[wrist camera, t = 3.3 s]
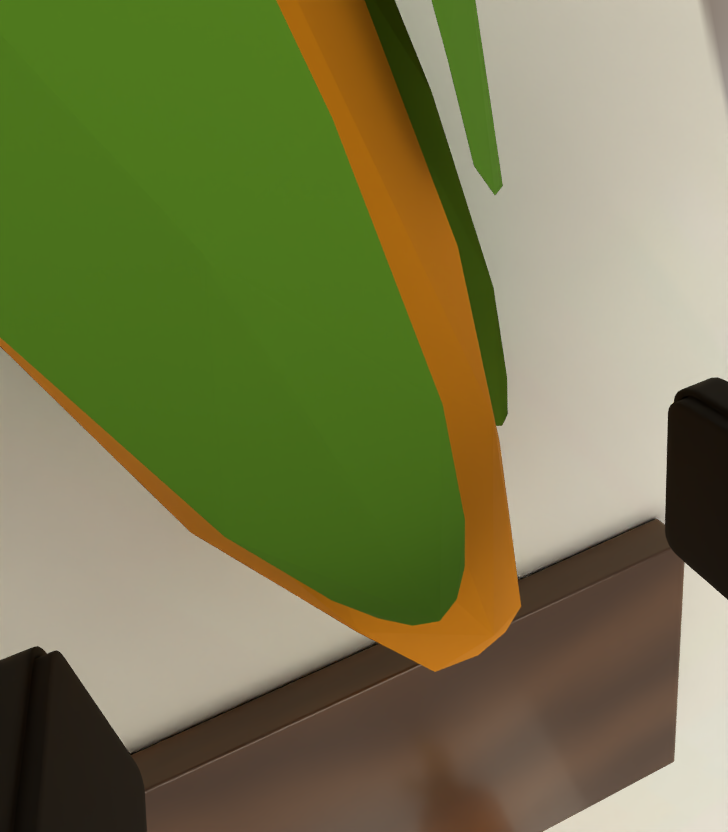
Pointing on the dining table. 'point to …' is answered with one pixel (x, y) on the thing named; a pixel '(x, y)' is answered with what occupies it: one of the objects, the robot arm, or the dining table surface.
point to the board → (454, 719)
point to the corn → (270, 291)
